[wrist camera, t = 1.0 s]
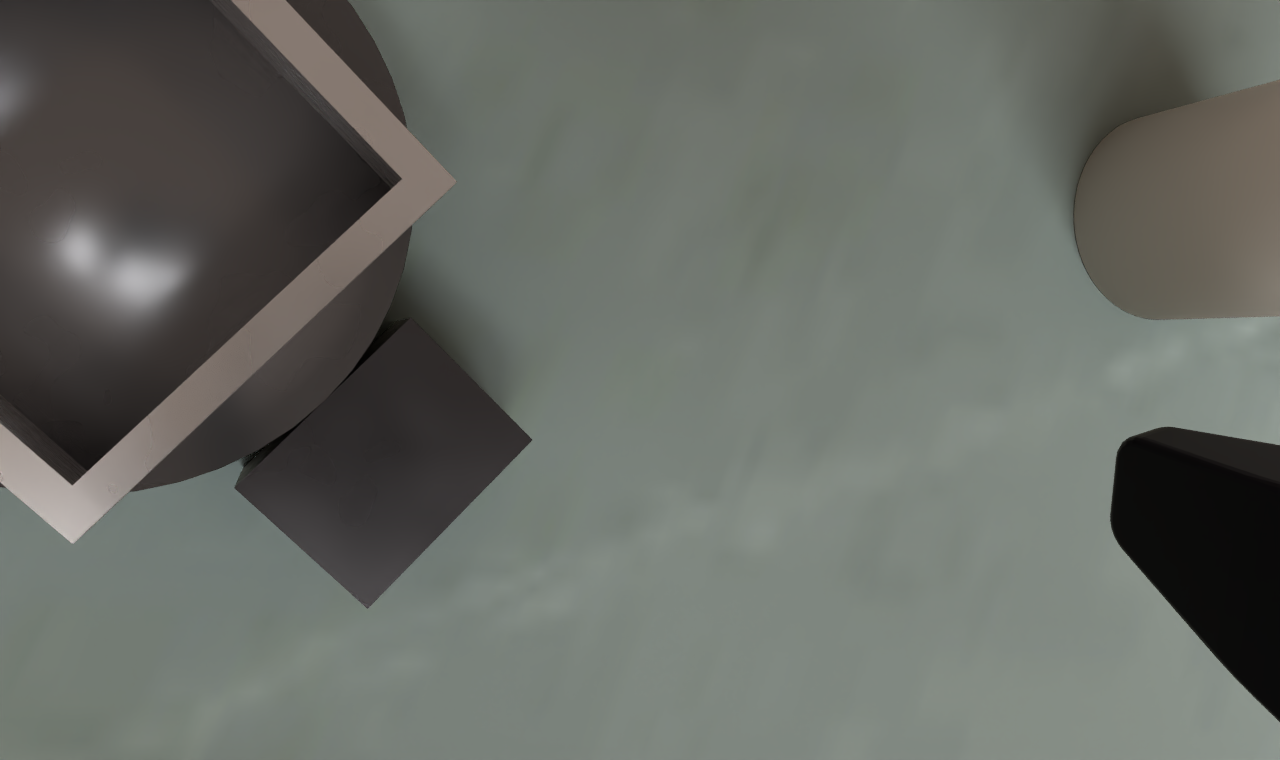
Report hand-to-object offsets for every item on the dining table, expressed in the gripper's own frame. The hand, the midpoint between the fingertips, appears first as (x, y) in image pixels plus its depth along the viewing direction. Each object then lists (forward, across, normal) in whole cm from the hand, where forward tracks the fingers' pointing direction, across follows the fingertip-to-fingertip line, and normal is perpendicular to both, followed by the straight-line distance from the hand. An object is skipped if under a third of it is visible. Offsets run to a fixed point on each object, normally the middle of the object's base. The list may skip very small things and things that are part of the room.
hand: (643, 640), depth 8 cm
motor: (+15, +4, +1) cm, 15 cm away
